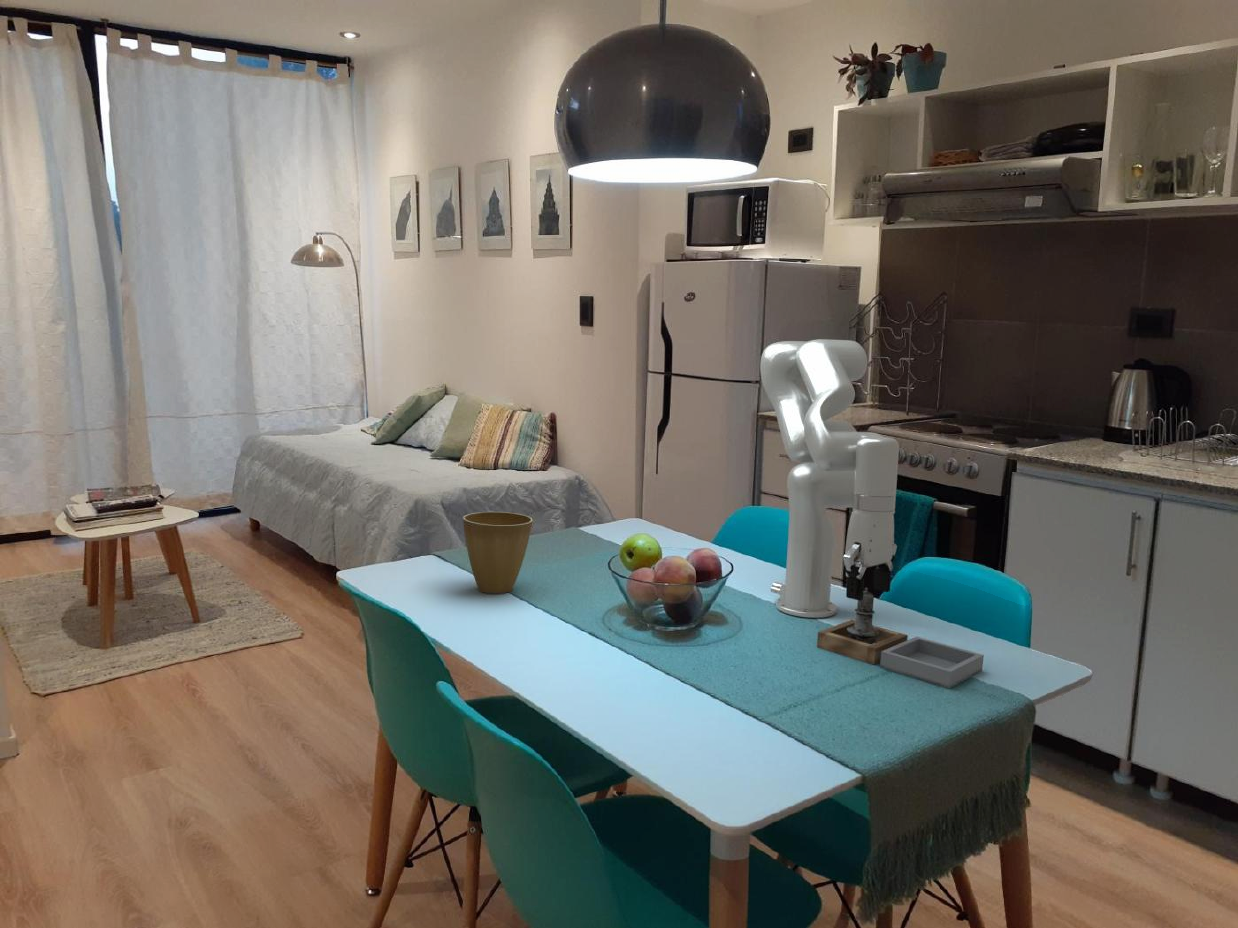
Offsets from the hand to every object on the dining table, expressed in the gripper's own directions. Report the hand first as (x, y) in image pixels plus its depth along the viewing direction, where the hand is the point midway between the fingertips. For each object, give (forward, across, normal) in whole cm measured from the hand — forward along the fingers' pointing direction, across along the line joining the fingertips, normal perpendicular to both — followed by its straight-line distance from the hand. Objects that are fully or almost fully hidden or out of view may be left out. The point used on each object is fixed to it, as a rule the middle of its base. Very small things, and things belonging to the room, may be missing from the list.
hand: (868, 594), depth 182 cm
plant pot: (+9, +28, -74) cm, 80 cm away
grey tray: (+11, -1, +13) cm, 17 cm away
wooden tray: (+11, -1, -1) cm, 11 cm away
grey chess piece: (+11, -1, -1) cm, 11 cm away
